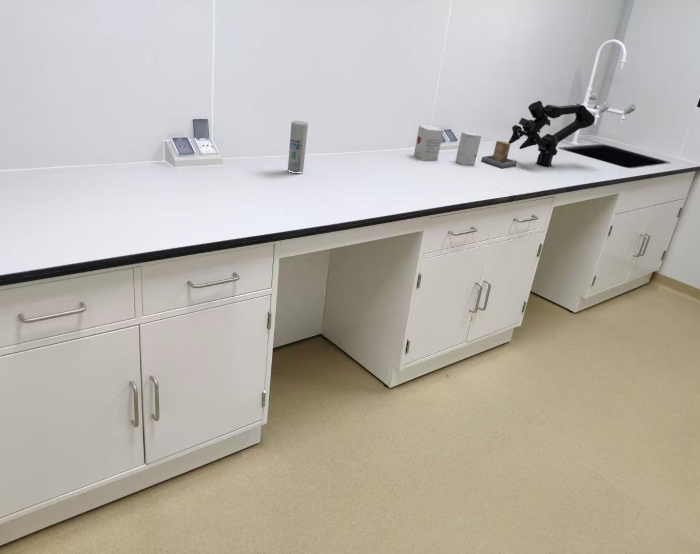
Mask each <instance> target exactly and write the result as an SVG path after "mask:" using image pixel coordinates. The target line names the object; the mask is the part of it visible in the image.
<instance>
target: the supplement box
mask: <svg viewBox="0 0 700 554" xmlns="http://www.w3.org/2000/svg"><path fill="white" fill-rule="evenodd" d="M443 134H444V129H441V128H439V127H437V126H435V125H423V124H422V125H419V126H418V130H417V135H416V139H415V140H416V141H415V146H414V153H413V156H415V157H416V158H418V159H419V160H422V161H438V159H439V154H440V149H441V144H442V139H443Z"/></svg>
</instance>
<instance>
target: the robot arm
mask: <svg viewBox="0 0 700 554" xmlns="http://www.w3.org/2000/svg"><path fill="white" fill-rule="evenodd" d="M528 111H529V112H530V114H531V117H532V118H533V119H526V118H524V117H521V118H520V119H519V121H518V125H517V124H514V125H512V127H511V129H512V135H511V137H510V139H509V140H508V142H507V143H509V144H510V145H512V144H513V143H515V142H516V141H518V140H520V139H521V138H522V137H523V136H525V137H527V138H526V139H525V140H524V142H522V144H521V145H520V146H519V149H520V150H522V149H526V148H528V147H532V146H533V147H534V146H537V148H538V152H539V154H538V156H537V160H536V162H535V164H536V165H541V166H543V167H551V166H553V164H552V161H553V158H554V156H556V155H557V154H558V150H557V147H558V145H559V143H560V142H562V141H563V140H564V139H567V138H568V137H570V136H571V135H573V134H575V133H576V132H577V131H579V130H580V129H586V128H590V127H592V125H594V123H595V118H596V117H595V116H594V115H593V114H592V113H591V112H590V111H589V110H588V109H587V108H586V106H585V105H583V104H579V103H576V104H567V105H555V104H546V105H545V106H544V105H543V103H542V100H537V101H535V102H533V103H530V104H529V105H528ZM574 114H575V115H574ZM564 115H574V116H575V118H574V120H573V122H571V123H570V124H568V125H566V126H564V127H562V128H561V129H560V130H559V131H557V132H555V133H554V134H550V133H546V134H545V135H544V136H540V133H541V130H542V129H543V128H544V127H545V126H548V127H550V126H551V120H550V119H557V118H560V117H561V116H564ZM549 118H550V119H549ZM520 125H521V126H522V127H521V126H520Z"/></svg>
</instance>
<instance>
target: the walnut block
mask: <svg viewBox="0 0 700 554" xmlns="http://www.w3.org/2000/svg"><path fill="white" fill-rule="evenodd" d="M510 148H511V144H509V143H508V142H507V141H503V140H501V141H500V140H496V143H495V145H494V149H493V150H494V151H493V153H492V154H493V158H492V160H495V161H498V162H501V163H506V160H507V159H508V156H509V151H510Z"/></svg>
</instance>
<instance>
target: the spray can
mask: <svg viewBox="0 0 700 554" xmlns="http://www.w3.org/2000/svg"><path fill="white" fill-rule="evenodd" d="M308 127H309V123H308V122H306V121H303V120H292V121H291V125H290V136H289V137H290V139H289V151H288V162H287V171H288V170H290V171H293V172H303V173H304V167H305V155H306V148H307V137H308Z"/></svg>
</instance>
